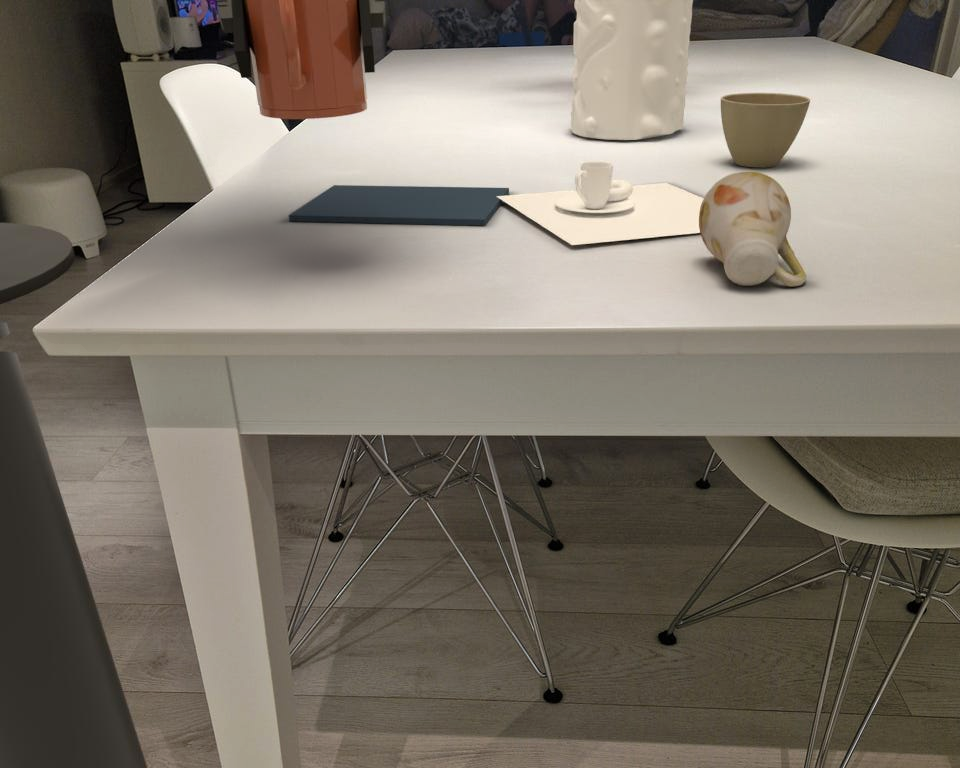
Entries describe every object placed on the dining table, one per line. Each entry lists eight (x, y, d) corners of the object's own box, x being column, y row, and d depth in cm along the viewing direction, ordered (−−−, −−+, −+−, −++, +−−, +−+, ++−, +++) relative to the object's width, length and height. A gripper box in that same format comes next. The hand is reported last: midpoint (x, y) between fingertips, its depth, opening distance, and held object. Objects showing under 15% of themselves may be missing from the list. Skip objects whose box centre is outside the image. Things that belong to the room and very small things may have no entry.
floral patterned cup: (705, 297, 69) (687, 164, 69) (712, 315, 79) (696, 198, 78) (810, 276, 67) (792, 137, 66) (804, 297, 76) (788, 176, 76)
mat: (289, 221, 92) (288, 215, 92) (334, 190, 104) (333, 185, 103) (484, 225, 89) (484, 219, 88) (509, 193, 100) (509, 187, 100)
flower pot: (746, 175, 105) (755, 106, 101) (697, 160, 112) (703, 96, 108) (818, 166, 108) (829, 99, 104) (765, 153, 115) (774, 89, 111)
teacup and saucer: (619, 195, 96) (622, 154, 94) (655, 213, 90) (659, 168, 88) (541, 202, 94) (543, 159, 92) (573, 220, 87) (575, 175, 85)
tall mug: (270, 104, 76) (249, -54, 70) (371, 101, 76) (358, -57, 70) (242, 127, 67) (214, -54, 61) (357, 123, 67) (341, -58, 61)
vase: (559, 125, 138) (563, -141, 120) (665, 120, 139) (685, -144, 121) (580, 145, 123) (589, -154, 106) (698, 139, 124) (727, -157, 107)
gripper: (423, -145, 77) (448, 91, 73) (164, -139, 75) (173, 103, 71) (423, -238, 70) (451, 17, 65) (136, -234, 68) (144, 29, 64)
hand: (306, 62), depth 68 cm, fingers closed on tall mug, 8 cm apart
